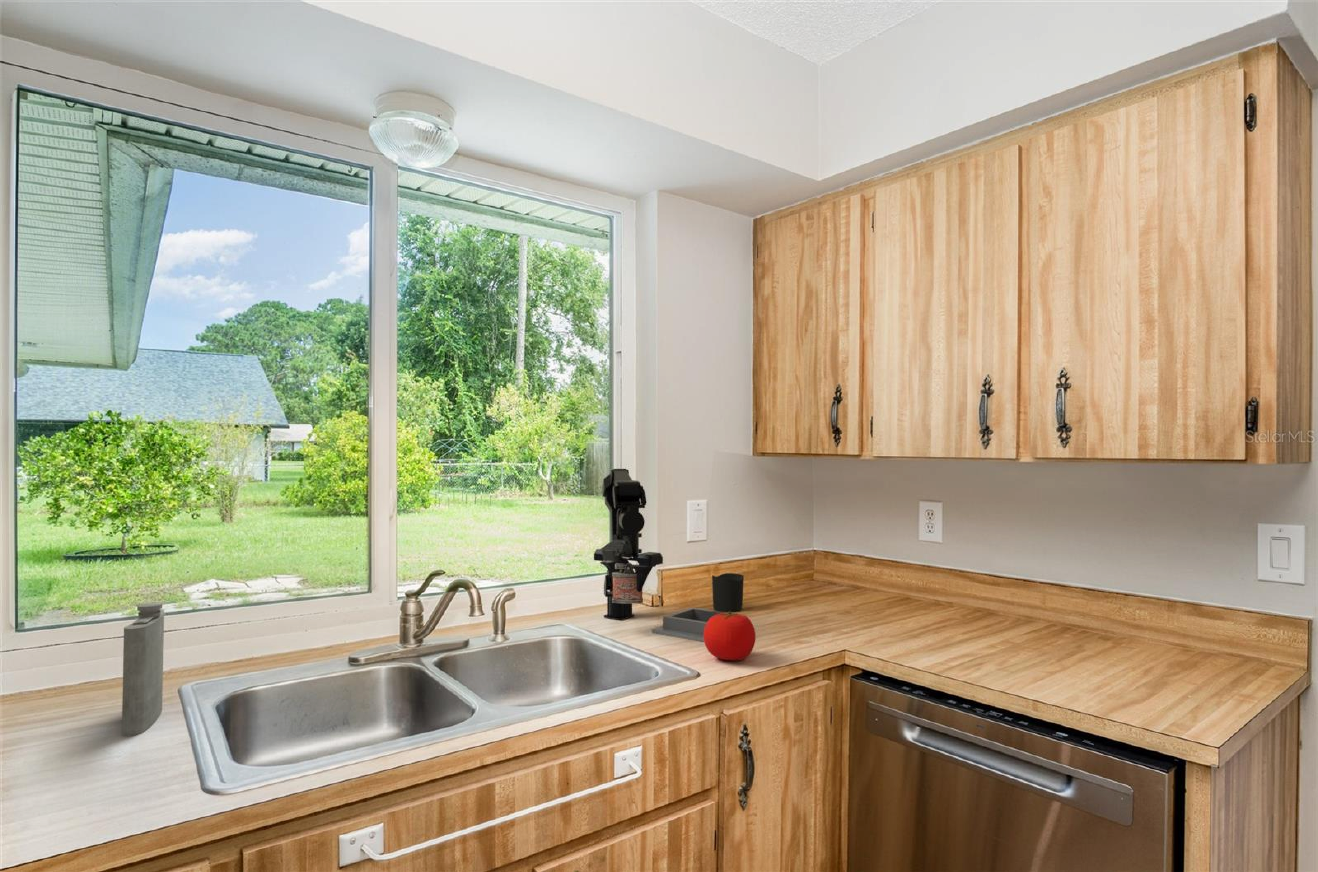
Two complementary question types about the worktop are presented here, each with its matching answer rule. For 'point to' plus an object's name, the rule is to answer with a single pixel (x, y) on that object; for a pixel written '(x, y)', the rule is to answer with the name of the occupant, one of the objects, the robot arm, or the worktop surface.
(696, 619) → the stand
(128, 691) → the hip flask
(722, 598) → the pen holder
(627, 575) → the lighter
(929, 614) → the worktop surface
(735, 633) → the tomato
